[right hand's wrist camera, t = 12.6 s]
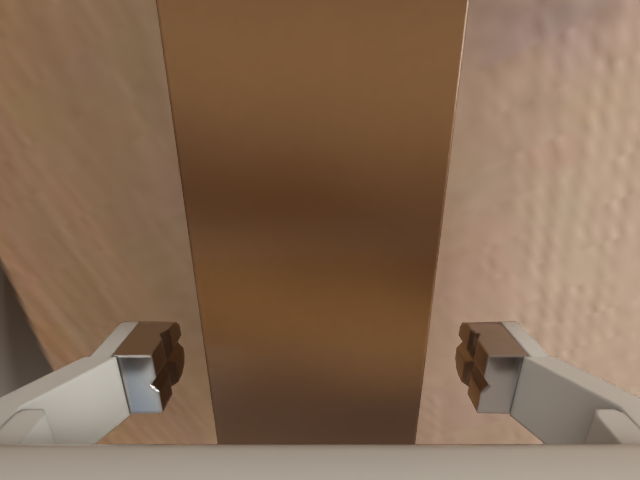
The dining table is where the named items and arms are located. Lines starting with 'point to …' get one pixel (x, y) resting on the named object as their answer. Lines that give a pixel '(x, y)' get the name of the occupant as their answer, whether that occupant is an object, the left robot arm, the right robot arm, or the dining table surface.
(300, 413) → the post
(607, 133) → the dining table surface
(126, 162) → the dining table surface
